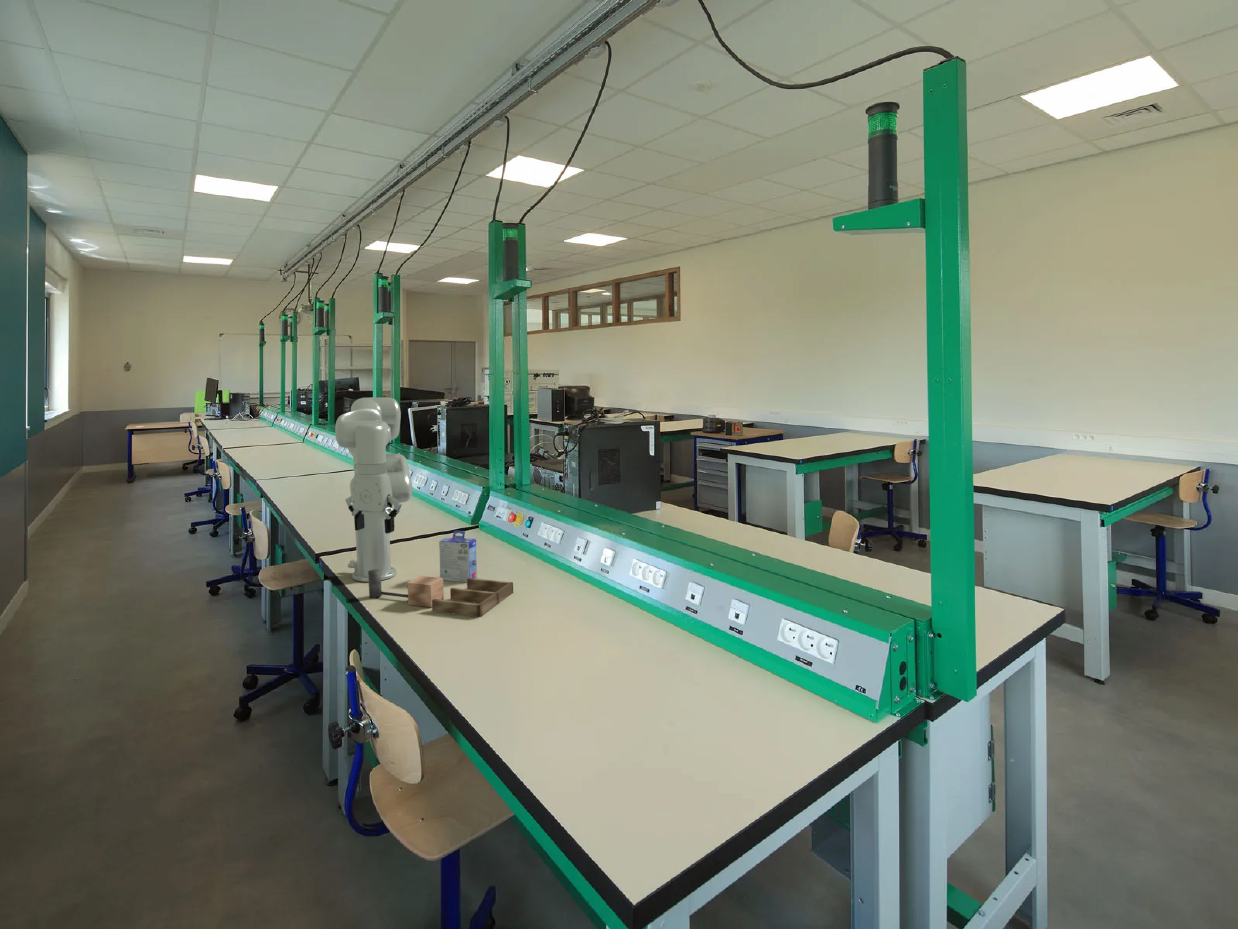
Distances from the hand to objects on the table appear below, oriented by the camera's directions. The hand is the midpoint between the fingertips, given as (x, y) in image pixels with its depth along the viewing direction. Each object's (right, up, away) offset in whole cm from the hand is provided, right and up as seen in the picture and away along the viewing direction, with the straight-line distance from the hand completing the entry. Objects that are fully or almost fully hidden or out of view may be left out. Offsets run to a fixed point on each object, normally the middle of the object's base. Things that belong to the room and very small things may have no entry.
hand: (374, 530), depth 171 cm
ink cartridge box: (+19, -17, +17) cm, 30 cm away
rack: (+28, -19, -2) cm, 34 cm away
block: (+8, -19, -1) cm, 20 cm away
